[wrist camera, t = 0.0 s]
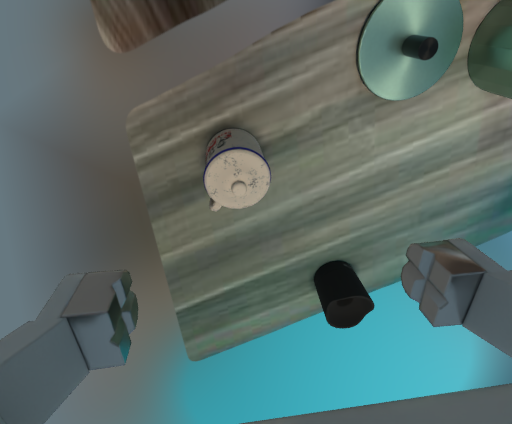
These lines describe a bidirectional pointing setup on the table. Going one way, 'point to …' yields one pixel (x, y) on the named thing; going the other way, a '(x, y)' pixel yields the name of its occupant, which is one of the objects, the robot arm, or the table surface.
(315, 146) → the table surface
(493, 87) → the pot
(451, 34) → the lid
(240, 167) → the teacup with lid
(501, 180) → the table surface
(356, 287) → the pen holder
